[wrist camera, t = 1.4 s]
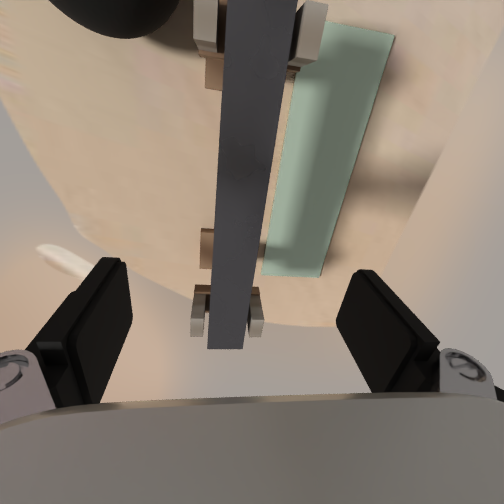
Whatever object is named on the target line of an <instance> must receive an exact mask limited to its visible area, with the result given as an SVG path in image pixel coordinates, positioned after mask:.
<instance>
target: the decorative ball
mask: <svg viewBox="0 0 504 504" xmlns="http://www.w3.org/2000/svg"><path fill="white" fill-rule="evenodd" d="M49 1H50V2H51V3H52V4H53V5H54V6H56V7H57V8H58V9H59V10H60V11H62V12H63V13H64V14H65V15H67V16H68V17H70V18H71V19H72V20H74V21H75V22H77V23H78V24H80V25H82V26H84V27H85V28H87V29H89V30H92V31H94V32H96V33H99V34H102V35H105V36H109V37H113V38H121V39H131V38H138V37H142V36H145V35H147V34H150V33H152V32H153V31H155V30H157V29H158V28H160V27H161V26H162V25H163V24H164V23H165V22H166V21H167V20H168V19H169V17H170V16H171V15H172V13H173V12H174V10H175V9H176V7H177V5H178V3H179V1H180V0H49Z"/></svg>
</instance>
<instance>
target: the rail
mask: <svg viewBox="0 0 504 504" xmlns="http://www.w3.org/2000/svg"><path fill="white" fill-rule="evenodd" d="M297 2H298V0H227V16H226V34H225V51H224V68H223V85H222V103H221V120H220V137H219V155H218V172H217V189H216V206H215V224H214V241H213V258H212V275H211V293H210V310H209V328H208V346H207V349H243V342H244V336H245V330H246V323H247V317H248V311H249V304H250V298H251V292H252V286H253V279H254V273H255V267H256V260H257V254H258V248H259V241H260V235H261V229H262V222H263V216H264V210H265V203H266V197H267V191H268V185H269V178H270V172H271V166H272V159H273V153H274V147H275V140H276V134H277V128H278V121H279V115H280V109H281V103H282V96H283V90H284V84H285V77H286V71H287V65H288V58H289V52H290V46H291V39H292V33H293V27H294V21H295V14H296V8H297Z"/></svg>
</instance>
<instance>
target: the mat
mask: <svg viewBox="0 0 504 504" xmlns="http://www.w3.org/2000/svg"><path fill="white" fill-rule="evenodd" d="M394 36H395V35H392V34H387V33H382V32H377V31H372V30H367V29H362V28H358V27H353V26H348V25H343V24H338V23H333V22H328V21H325V25H324V30H323V35H322V40H321V45H320V50H319V54H318V59H317V61H315V62H312V63H310V64H307V65H305V66H303V67H301V69H300V72H297V73H296V75H295V81H294V87H293V92H292V98H291V104H290V110H289V115H288V121H287V127H286V133H285V138H284V144H283V150H282V156H281V161H280V167H279V173H278V179H277V184H276V190H275V196H274V202H273V207H272V213H271V219H270V225H269V230H268V236H267V242H266V248H265V253H264V259H263V265H262V271H261V275H270V276H292V277H315V278H319V276H320V272H321V269H322V266H323V263H324V260H325V256H326V253H327V250H328V247H329V244H330V240H331V237H332V234H333V231H334V228H335V224H336V221H337V218H338V215H339V212H340V208H341V205H342V202H343V199H344V196H345V192H346V189H347V186H348V183H349V180H350V176H351V173H352V170H353V167H354V164H355V160H356V157H357V154H358V151H359V148H360V145H361V141H362V138H363V135H364V132H365V129H366V125H367V122H368V119H369V116H370V113H371V109H372V106H373V103H374V100H375V97H376V93H377V90H378V87H379V84H380V81H381V77H382V74H383V71H384V68H385V65H386V61H387V58H388V55H389V52H390V49H391V45H392V42H393V39H394Z"/></svg>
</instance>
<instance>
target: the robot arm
mask: <svg viewBox="0 0 504 504" xmlns="http://www.w3.org/2000/svg"><path fill="white" fill-rule="evenodd" d="M132 319H133V314H132V306H131V299H130V291H129V283H128V276H127V268H126V263H125V262H121V260H120V258H112V257H102V258H101V259H100V260H99V262H98V263H97V264H96V265H95V267H94V268H93V269H92V270H91V272H90V273H89V274H88V276H87V277H86V278H85V279H84V281H83V282H82V283H81V285H80V286H79V287H78V288H77V290H76V291H74V292H71V293H70V294H69V295H68V296H67V298H66V299H65V300H64V302H63V303H62V304H61V305H60V307H59V308H58V309H57V310H56V312H55V313H54V314H53V315H52V317H51V318H50V319H49V320H48V322H47V323H46V324H45V325H44V327H43V328H42V329H41V330H40V331H39V333H38V334H37V335H36V336H35V338H34V339H33V340H32V341H31V343H30V344H29V345H28V347H27V348H26V349H25V350H12V351H6V352H3V353H0V504H504V390H502V389H500V388H498V387H496V386H494V383H493V379H492V376H491V374H490V372H489V371H488V370H487V369H486V367H485V366H483V365H482V364H481V363H480V362H479V361H478V360H476V359H475V358H473V357H472V356H470V355H468V354H466V353H464V352H462V351H459V350H456V349H451V348H447V349H443V350H442V351H441V352H440V351H439V350H438V349H437V346H438V345H439V343H440V341H439V340H438V339H437V338H436V337H435V336H434V335H433V334H432V333H431V332H430V331H429V329H427V327H426V326H425V325H424V324H423V323H422V322H421V321H420V320H419V319H418V318H417V317H416V315H415V314H413V312H412V311H411V310H410V309H409V308H408V307H407V306H406V305H405V304H404V303H403V302H402V300H401V299H399V297H398V296H397V295H396V294H395V293H394V292H393V291H392V290H391V289H390V288H389V287H388V285H387V284H386V283H385V282H384V281H383V280H382V279H381V278H380V277H379V276H378V275H377V274H376V273H375V272H374V271H373V270H362V269H360V270H358V271H357V272H355V273H354V274H353V275H352V278H351V280H350V283H349V286H348V288H347V291H346V294H345V296H344V299H343V302H342V304H341V307H340V310H339V312H338V315H337V318H336V325H337V328H338V330H339V331H340V333H341V335H342V337H343V339H344V341H345V343H346V345H347V347H348V348H349V350H350V352H351V354H352V356H353V358H354V360H355V362H356V363H357V365H358V367H359V369H360V371H361V373H362V375H363V377H364V379H365V381H366V382H367V384H368V386H369V388H370V390H371V392H372V393H350V394H316V395H283V396H253V397H225V398H201V399H200V398H198V399H175V400H173V399H172V400H151V401H133V402H132V401H131V402H114V403H100V401H101V399H102V396H103V394H104V391H105V389H106V386H107V384H108V381H109V379H110V376H111V374H112V371H113V369H114V366H115V364H116V361H117V359H118V356H119V354H120V352H121V349H122V347H123V344H124V342H125V339H126V337H127V334H128V332H129V329H130V327H131V324H132Z"/></svg>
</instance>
